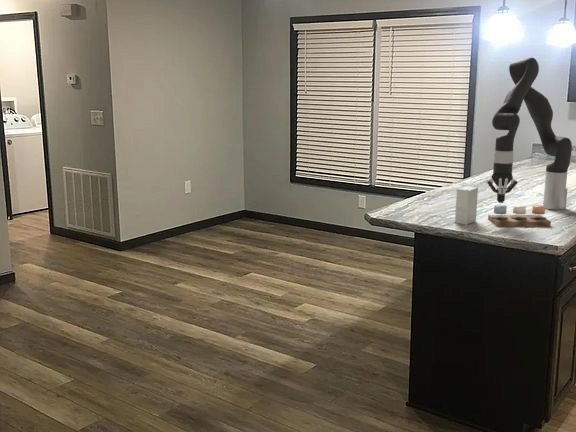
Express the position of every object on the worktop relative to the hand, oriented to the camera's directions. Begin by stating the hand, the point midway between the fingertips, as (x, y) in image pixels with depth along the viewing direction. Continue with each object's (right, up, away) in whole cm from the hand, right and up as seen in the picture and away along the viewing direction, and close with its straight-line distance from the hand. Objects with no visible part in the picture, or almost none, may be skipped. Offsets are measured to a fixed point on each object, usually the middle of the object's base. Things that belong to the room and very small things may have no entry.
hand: (500, 202), depth 275 cm
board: (+8, -8, +2) cm, 12 cm away
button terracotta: (+16, -4, 0) cm, 17 cm away
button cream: (+8, -4, +1) cm, 9 cm away
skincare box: (-14, -8, +3) cm, 17 cm away
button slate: (0, -4, +1) cm, 5 cm away
